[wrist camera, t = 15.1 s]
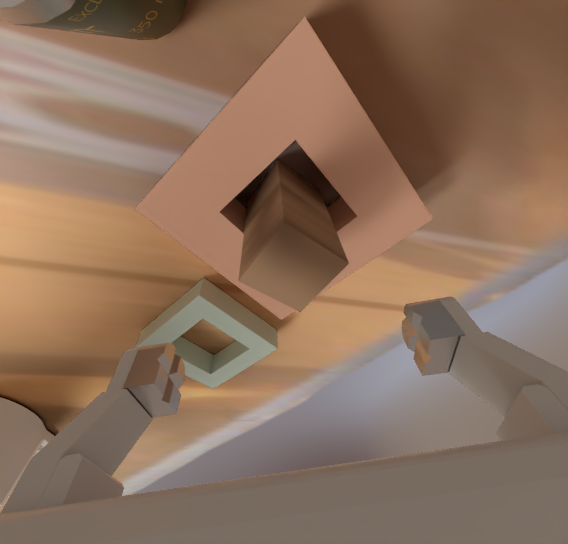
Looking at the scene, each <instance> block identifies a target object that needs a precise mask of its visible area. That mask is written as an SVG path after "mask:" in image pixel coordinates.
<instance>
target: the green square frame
mask: <svg viewBox="0 0 568 544" xmlns="http://www.w3.org/2000/svg"><path fill="white" fill-rule="evenodd" d="M202 319H204V320H205V321H207V322H208V323H210V324H212V325H213V326H215V327H216V328H218V329H219V330H221V331H223V332H224V333H226V334H227V335H229V336H230V337H232V338H234V339H235V340H236V341H234V342H233V343H231V344H230V345H228V346H227V347H225V348H224V349H223V350H221V351H220V352H218V353H217V354H215V355H212V354H211V353H209V352H207V351H206V350H204V349H202V348H200V347H199V346H197V345H195V344H193V343H192V342H190V341H188V340H186V339H185V338H183V337H181V335H182V334H184V333H185V332H186V331H187V330H189V329H190V328H191V327H193V326H194V325H195V324H196V323H198V322H199V321H200V320H202ZM164 343H172V344H173V345H174V347H175V348H176V351H175V354H176V355H178V356H180V357H181V358H182V360H183V362H184V366H185V375H186V376H188V377H190V378H192V379H194V380H196V381H198V382H200V383H202V384H204V385H206V386H208V387H210V388H212V389H214V388H216V387H217V386H219V385H220V384H222V383H224V382H225V381H227V380H228V379H230V378H232V377H233V376H235V375H236V374H238V373H240V372H241V371H243V370H244V369H246V368H248V367H249V366H251V365H252V364H254V363H256V362H257V361H259V360H261V359H262V358H264V357H265V356H267V355H269V354H270V353H272V352H273V351H275V350H277V349H278V342H277V330H276V329H275V328H273V327H272V326H270V325H269V324H268V323H266V322H265V321H264V320H262V319H261V318H259V317H258V316H257V315H255V314H254V313H252V312H251V311H250V310H248V309H247V308H246V307H244V306H243V305H241V304H240V303H239V302H237V301H236V300H234V299H233V298H232V297H230V296H229V295H228V294H226V293H225V292H223V291H222V290H221V289H219V288H218V287H216V286H215V285H214V284H212V283H211V282H210V281H208V280H207V279H205V278H203V279H202V280H200V281H199V282H198V283H197V284H196V285H195V286H193V287H192V288H191V289H190V290H189V291H187V292H186V293H185V294H184V295H183V296H182V297H180V298H179V299H178V300H177V301H176V302H175V303H173V304H172V305H171V306H170V307H169V308H167V309H166V310H165V311H164V312H163V313H162V314H160V315H159V316H158V317H157V318H156V319H154V320H153V321H152V322H151V323H150V324H149V325H147V326H146V327H145V328H144V329H143V330H142V331H141V334H140V336H139V338H138V340H137V343H136V345H135V347H134V348H136V347H142V346H149V345H157V344H164Z"/></svg>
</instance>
